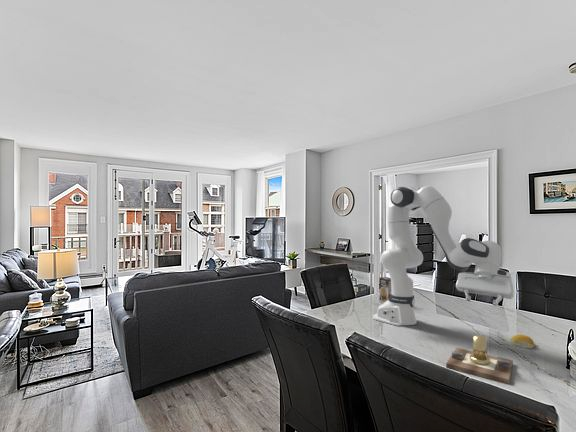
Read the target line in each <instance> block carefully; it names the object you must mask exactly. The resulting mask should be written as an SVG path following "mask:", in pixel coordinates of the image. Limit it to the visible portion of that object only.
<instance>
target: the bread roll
mask: <svg viewBox="0 0 576 432" xmlns="http://www.w3.org/2000/svg"><path fill="white" fill-rule="evenodd" d="M510 343H511V344H512V345H513V346H515V347H518V348H523V349H529V350H530V349H533V348H534V347H535V346H536V345H535V342H534V340H533V339H532V338H531V337H530V336H527V335H524V334H515V335H513V336H512V337H510Z"/></svg>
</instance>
